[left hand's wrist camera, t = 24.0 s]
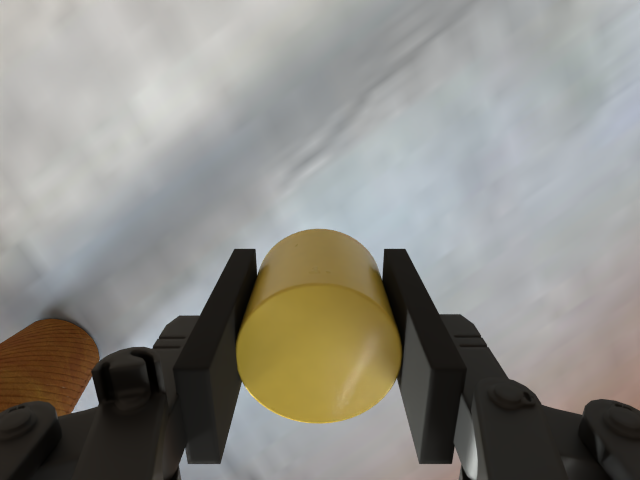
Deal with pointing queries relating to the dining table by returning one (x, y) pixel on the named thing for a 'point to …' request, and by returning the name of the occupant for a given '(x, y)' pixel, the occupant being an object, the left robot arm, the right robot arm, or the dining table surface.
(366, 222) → the dining table surface
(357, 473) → the dining table surface
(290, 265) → the canister
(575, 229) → the dining table surface
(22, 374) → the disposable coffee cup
